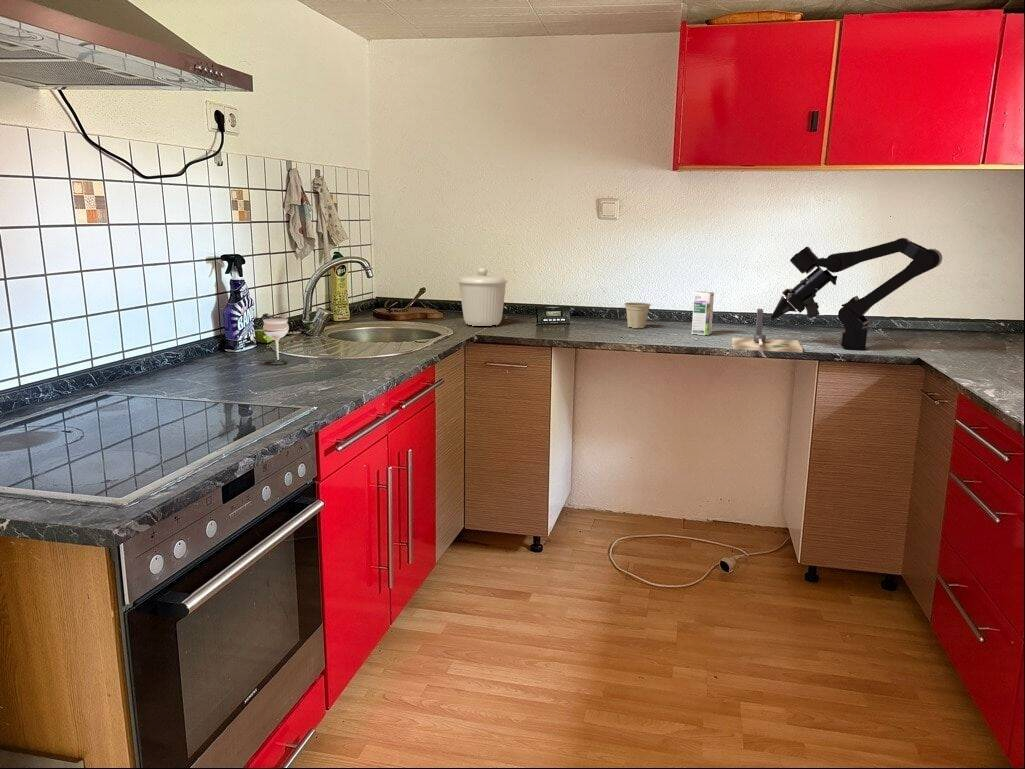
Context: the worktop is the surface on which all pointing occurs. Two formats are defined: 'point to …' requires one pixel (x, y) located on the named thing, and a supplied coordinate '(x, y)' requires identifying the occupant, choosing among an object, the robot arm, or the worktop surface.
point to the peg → (759, 328)
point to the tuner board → (767, 345)
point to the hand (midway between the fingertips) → (772, 318)
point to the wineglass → (276, 329)
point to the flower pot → (637, 314)
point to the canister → (482, 298)
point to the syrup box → (702, 313)
